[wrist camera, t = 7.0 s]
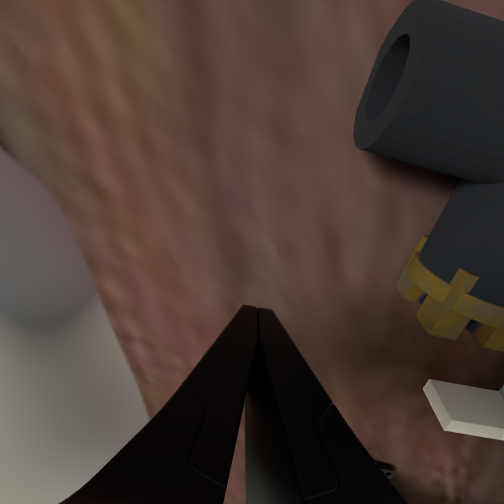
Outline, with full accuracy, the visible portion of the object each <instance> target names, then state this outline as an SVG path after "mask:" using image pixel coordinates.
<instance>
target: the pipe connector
mask: <svg viewBox="0 0 504 504" xmlns="http://www.w3.org/2000/svg"><path fill="white" fill-rule="evenodd" d="M354 142H355V145H356V147H357V148H358V149H361V150H365V151H368V152H372V153H375V154H379V155H382V156H386V157H389V158H393V159H396V160H400V161H403V162H407V163H411V164H414V165H418V166H421V167H425V168H428V169H432V170H435V171H439V172H442V173H446V174H449V175H453V176H457V177H460V178H461V179H460V181H459V183H458V185H457V186H456V188H455V190H454V192H453V194H452V195H451V197H450V199H449V201H448V203H447V204H446V206H445V208H444V210H443V212H442V213H441V215H440V217H439V219H438V221H437V222H436V224H435V226H434V228H433V230H432V231H431V233H430V235H429V236H426V235H422V237H421V239H420V241H419V242H418V244H417V246H416V248H415V250H414V252H413V253H412V255H411V257H410V259H409V261H408V263H407V264H406V266H405V268H404V270H403V272H402V274H401V275H400V277H399V279H398V281H397V283H396V285H395V287H396V288H397V289H398V291H399V292H400V294H401V295H402V297H403V298H404V300H408V301H412V302H417V303H421V304H422V305H421V307H420V309H419V310H418V312H417V314H416V315H415V316H416V317H417V319H418V320H419V322H420V323H421V325H422V326H423V328H424V329H425V331H426V332H427V333H428V334H429V335H433V336H438V337H442V338H446V339H451V340H456V339H457V338H458V336H459V335H460V333H461V332H462V331H463V329H464V328H465V326H466V325H467V324H468V322H469V321H470V319H471V321H470V322H469V324H468V325H467V326H466V329H467V330H468V331H469V332H470V333H471V334H472V336H473V337H474V338H475V339H476V340H477V341H478V343H479V344H480V345H481V346H482V347H485V348H489V349H493V350H497V351H502V352H504V21H501V20H498V19H495V18H492V17H489V16H486V15H483V14H480V13H477V12H474V11H471V10H468V9H465V8H462V7H459V6H456V5H453V4H450V3H447V2H444V1H441V0H414V1H413V2H411V3H410V5H409V6H408V7H407V8H406V9H405V10H404V11H403V13H402V14H401V15H400V17H399V18H398V19H397V21H396V22H395V24H394V26H393V27H392V29H391V30H390V32H389V34H388V35H387V37H386V39H385V41H384V43H383V44H382V46H381V48H380V50H379V53H378V56H377V58H376V61H375V63H374V66H373V69H372V71H371V74H370V77H369V79H368V82H367V85H366V87H365V90H364V93H363V95H362V98H361V100H360V103H359V106H358V108H357V113H356V117H355V123H354Z"/></svg>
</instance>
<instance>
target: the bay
mask: <svg viewBox="0 0 504 504" xmlns="http://www.w3.org/2000/svg"><path fill="white" fill-rule="evenodd" d="M423 391H424V393H425V395H426V397H427V398H428V400H429V402H430V404H431V406H432V408H433V410H434V412H435V414H436V416H437V418H438V420H439V422H440V424H441V426H442V428H443V429H444V430H445V431H451V432H457V433H462V434H468V435H474V436H480V437H486V438H492V439H498V440H504V385H503V386H502V387H501V388H500V390H499V391H494V390H488V389H483V388H477V387H472V386H466V385H460V384H455V383H449V382H444V381H438V380H433V379H429V380H428V381H427V383H426V384H425V386H424V387H423Z"/></svg>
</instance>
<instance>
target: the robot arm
mask: <svg viewBox="0 0 504 504" xmlns="http://www.w3.org/2000/svg"><path fill="white" fill-rule="evenodd" d="M244 402H245V500H246V504H409V503H408V502H407V501H406V500H405V498H404V497H403V496H402V494H401V493H400V492H399V491H398V489H397V488H396V487H395V486H394V484H393V483H392V482H391V481H390V480H391V479H392V477H393V476H394V474H395V473H394V470H393V467H392V466H390V465H384V464H378V463H376V462H375V460H374V459H373V458H372V457H371V455H370V454H369V453H368V451H367V450H366V449H365V447H364V446H363V445H362V443H361V442H360V441H359V439H358V438H357V437H356V435H355V434H354V432H353V431H352V430H351V428H350V427H349V425H348V424H347V422H346V421H345V419H344V418H343V417H342V415H341V413H340V412H339V410H338V409H337V407H336V406H335V405H334V404H333V402H332V400H331V399H330V397H329V395H328V394H327V392H326V391H325V389H324V388H323V386H322V385H321V383H320V382H319V380H318V379H317V377H316V376H315V374H314V373H313V371H312V370H311V368H310V367H309V365H308V364H307V362H306V360H305V359H304V357H303V356H302V354H301V353H300V351H299V350H298V348H297V347H296V345H295V344H294V342H293V341H292V339H291V338H290V336H289V335H288V333H287V332H286V330H285V329H284V327H283V326H282V324H281V322H280V321H279V319H278V318H277V316H276V315H275V313H274V312H273V311H272V310H271V309H265V308H258V309H257V308H256V307H254V306H249V305H243V306H241V308H240V309H239V310H238V312H237V313H236V314H235V316H234V317H233V318H232V319H231V321H230V322H229V323H228V325H227V326H226V327H225V329H224V330H223V331H222V332H221V334H220V335H219V336H218V338H217V339H216V340H215V342H214V343H213V344H212V345H211V347H210V348H209V349H208V351H207V352H206V353H205V355H204V356H203V357H202V358H201V360H200V361H199V362H198V364H197V365H196V366H195V367H194V369H193V370H192V371H191V373H190V374H189V375H188V377H187V378H186V380H184V382H183V383H182V384H181V385H180V387H179V388H178V389H177V391H176V392H175V393H174V394H173V395H172V397H171V398H170V399H169V400H168V401H167V403H166V404H165V405H164V406H163V407H162V408H161V409H160V411H159V412H158V413H157V414H156V415H155V416H154V417H153V418H152V419H151V420H150V421H149V422H148V423H147V424H146V425H145V426H144V427H143V428H142V429H141V430H140V431H139V432H138V433H137V434H136V435H135V436H134V437H133V438H132V439H131V440H130V441H129V442H128V443H127V444H126V445H125V446H124V447H123V448H122V449H121V450H120V451H119V452H118V453H117V454H116V455H115V456H114V457H113V458H112V459H111V460H110V461H109V462H108V463H107V464H106V465H105V466H104V467H103V468H102V469H101V470H100V471H99V472H98V473H97V474H96V475H95V476H94V477H93V478H91V480H89V481H88V482H87V483H86V484H85V485H84V486H82V488H80V489H79V490H78V491H76V492H75V493H74V494H72V495H71V496H70V497H68V498H67V499H65V500H64V501H62V502H60V503H59V504H223V502H224V497H225V492H226V488H227V483H228V478H229V474H230V469H231V464H232V459H233V455H234V450H235V445H236V440H237V436H238V431H239V426H240V421H241V417H242V412H243V407H244ZM332 404H333V405H332Z"/></svg>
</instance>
